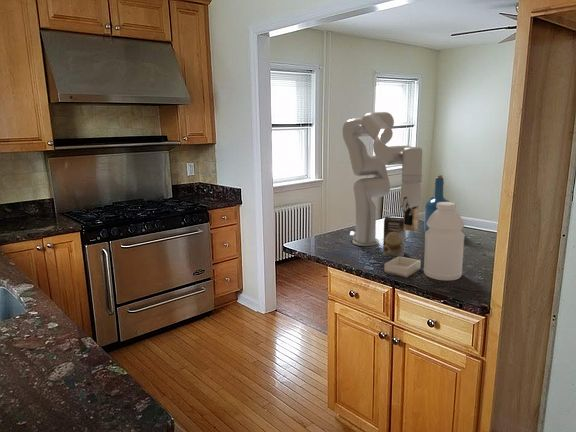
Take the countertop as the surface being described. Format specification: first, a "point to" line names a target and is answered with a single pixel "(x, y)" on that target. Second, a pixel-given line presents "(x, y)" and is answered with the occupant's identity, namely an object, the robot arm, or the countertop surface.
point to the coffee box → (394, 236)
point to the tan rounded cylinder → (413, 221)
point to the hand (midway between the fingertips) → (410, 223)
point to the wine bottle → (434, 200)
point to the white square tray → (402, 266)
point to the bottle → (444, 243)
